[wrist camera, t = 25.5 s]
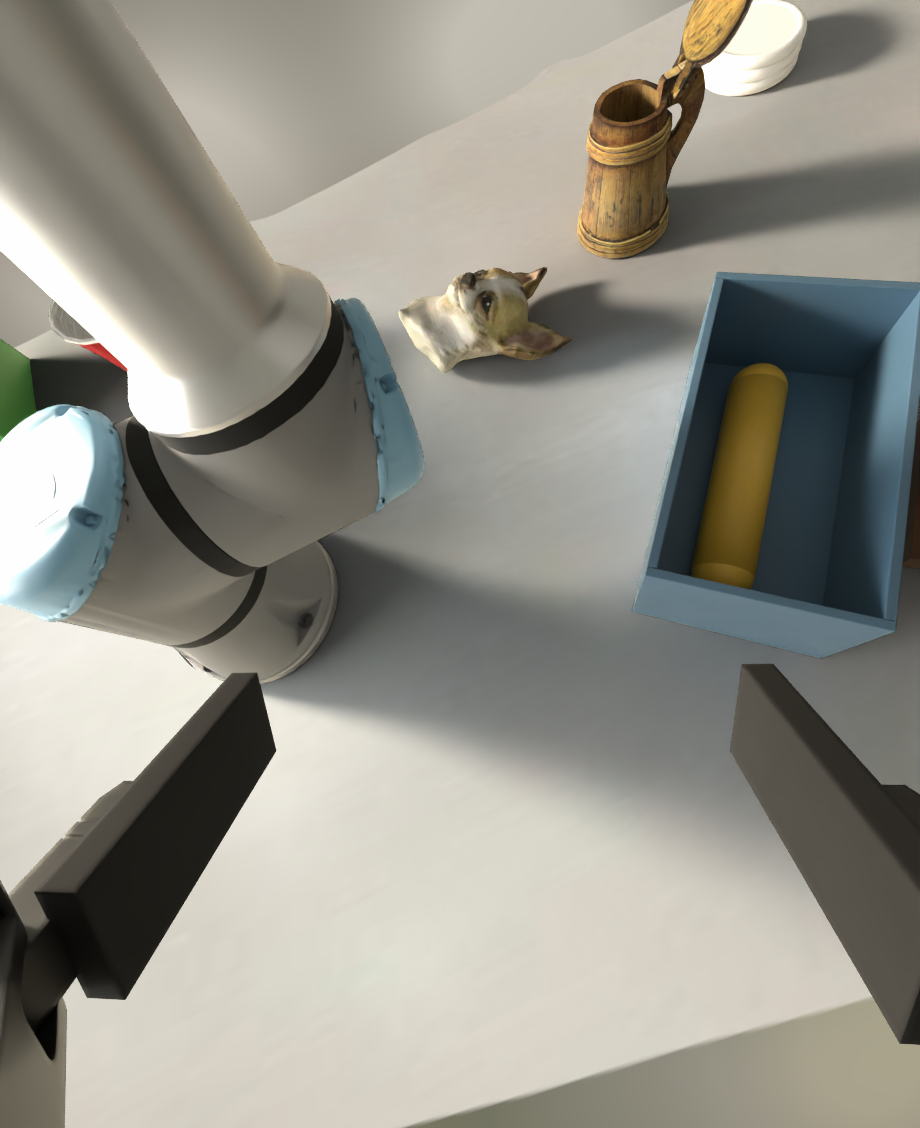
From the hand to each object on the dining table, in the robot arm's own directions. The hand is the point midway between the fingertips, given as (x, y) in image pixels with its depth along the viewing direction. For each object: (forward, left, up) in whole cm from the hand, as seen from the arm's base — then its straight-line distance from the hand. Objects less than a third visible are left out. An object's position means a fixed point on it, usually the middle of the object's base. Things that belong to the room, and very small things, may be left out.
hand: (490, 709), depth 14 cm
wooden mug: (-42, +30, -27) cm, 59 cm away
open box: (-11, +23, -27) cm, 37 cm away
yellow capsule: (-11, +21, -25) cm, 35 cm away
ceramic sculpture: (-36, +10, -27) cm, 47 cm away
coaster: (-55, +49, -27) cm, 79 cm away
